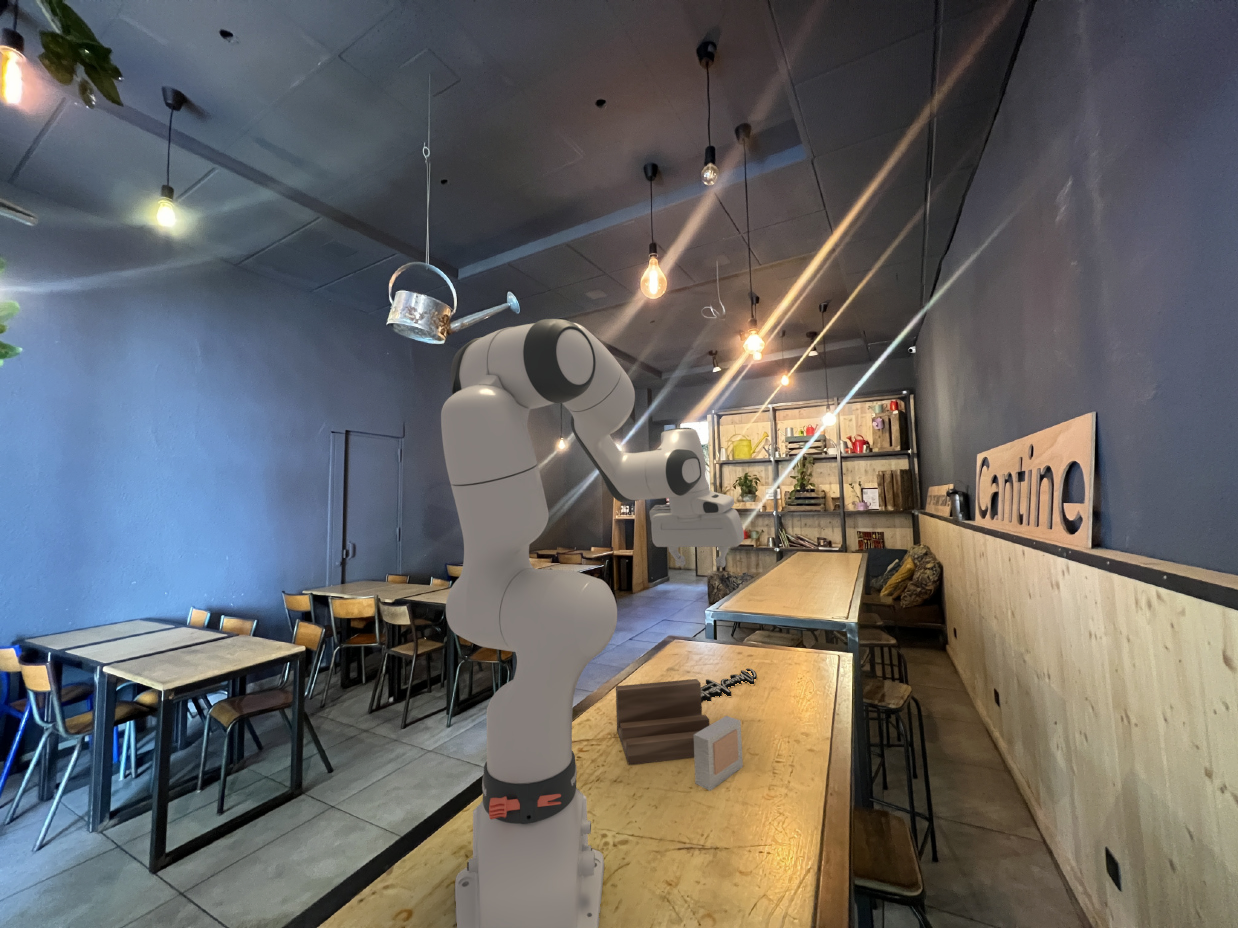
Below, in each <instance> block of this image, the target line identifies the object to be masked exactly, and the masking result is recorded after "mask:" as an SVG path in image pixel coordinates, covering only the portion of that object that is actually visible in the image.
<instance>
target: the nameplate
mask: <svg viewBox="0 0 1238 928" xmlns="http://www.w3.org/2000/svg"><path fill="white" fill-rule="evenodd" d="M746 670H747V671H751V673H752V675H753V676H751V675H750V674H749V673H748V672H746ZM741 673H742V674H741ZM730 678H731V679H730ZM756 678H757V679H758V675H757V672H756V671H755V670H754V669H752V668H746V669H745V670H744V669H743V670H740V673H739V674H737V673H736V674H730V676H729V678H722V679H721V680H720V683H719V682H717V681H714V680H713V679H709V678H708V679H707V678H706V679H705V685H703V686H701V704H702V703H704V702H708V701H711V702H712V697H714V698H716V697H715V696H719V697H718V698H721V697H720V696H722V697H723V695H724V694H726V695H727V696H732V691H731V690H730V688H729V689H728V687H731V686H735V684H737V683H739V684H741V685H742V683H741V681H743V682H745V681H747V682H749V683H750V684H754V683H755V682H754V679H756ZM706 684H707V685H706ZM735 687H736V686H735ZM722 692H723V693H724V694H723V693H722ZM726 695H725V696H726ZM727 696H726V697H727ZM732 697H733V696H732ZM706 700H707V701H706Z"/></svg>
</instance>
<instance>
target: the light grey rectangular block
mask: <svg viewBox="0 0 1238 928" xmlns="http://www.w3.org/2000/svg"><path fill="white" fill-rule="evenodd" d="M741 725H742V723H741V720H740V719H737V718H734V717H731V716H728V715H725V716H724V717H722V718H720V719H719V720H717V721H715V722H713V723H711V724H710V725H709V726H708V727H706V728H704V729H703V730H701V731H699V732H697V733H696V734H694V735H693V736H694V757H693V759H694V776H695V777H694V780H695V781H694V782H695V785H697V786H700V787H702V788H703V789H705V790H708V791H710V792H711V791H712V790H714V789H715V788H717V786H719V785H720V784H722V783H724V781H726V780H727V779H728V778H730V777H731V776H732V775H734V774H735V773H736V772H738V771H739V770H741V769H742V768H743V763H744V761H743V750H742V749H743V746H742V745H743V744H742V743H743V741H742V726H741Z"/></svg>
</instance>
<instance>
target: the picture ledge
mask: <svg viewBox="0 0 1238 928" xmlns="http://www.w3.org/2000/svg"><path fill="white" fill-rule="evenodd" d="M701 687H702V685H701V682H700V681H699V679H698V678H693V679H683V680H682V679H680V680H668V681H660V682H657V681H656V682H647V683H637V684H636V683H635V684H625V685H616V686H615V702H616V703H615V704H616V705H615V706H616V710H615V711H616V732H617V734H618V737H619V740H620V743H621V746H622V749H623V752H624V755H625V758H626V761H627V764H628V766H629V765H630V766H631V765H637V764H639V765H640V764H649V763H650V764H651V763H656V762H657V763H658V762H664V761H665V762H667V761H674V760H682V759H694V736H693V735H694V734H696V733H697V732H699V731H701V730H703V729H704V728H706V727H708V726H709V725H711V724H710V718H709V717H708V716H707V714H703V713H702V712H703V711H702V707H703V706H702V703H701Z"/></svg>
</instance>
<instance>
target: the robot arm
mask: <svg viewBox="0 0 1238 928" xmlns="http://www.w3.org/2000/svg"><path fill="white" fill-rule="evenodd" d="M450 383H451V389H450V391H451V392H450V393H451V396H450V397H447V399H446V400H445V402H444V404H443V406H442V408H441V411H440V424H441V425H440V426H441V437H442V446H443V454H444V460H445V461H444V462H445V466H446V471H447V476H448V479H449V482H450V486H451V492H452V495H453V499H454V502H455V506H456V510H457V511H456V512H457V515H458V519H459V524H460V528H461V532H462V538H463V539H462V540H463V564H462V569H461V572H460V573H461V574H460V575H459V577H458V578H457V579H456V580H455V582H454V583H453V584H452V586H451V588H450V589H449V592H448V595H447V598H446V602H445V617H446V621H447V624H448V626H449V629H450V630H451V631H452V632H453V634H455V635H457V636H459V637H460V638H462V639H465V640H466V641H468V642H471V643H472V644H475V645H477V646H478V647H482V648H488V649H495V650H501V651H508V652H513V653H514V652H515V653H514V654H515V655H516V668H515V673H514V677H513V679H511V680H510V681H508V682H507V683H504V685H502V686H501V687H499V688H498V690H497V691H496V692H495V693H494V694H493V695H492V697H491V699H490V701H488V702H489V703H488V706H487V709H486V761H485V763H484V765H483V774H482V781H481V782H482V784H481V787H482V788H481V790H482V801H481V802H480V803H479V804H478V805H476V807H475V808H474V810H473V811H472V858H468V861H467V862H466V864H467V865H466V867H465V868H463V869H462V870H461V871H459V872H458V874H457V875H456V876H455V883H454V898H455V899H454V902H455V901H456V908H455V923H456V922H457V928H598V927H599V928H600V926H599V925H600V918H599V913H600V914H601V907H600V904H601V903H602V895H603V893H602V892H603V884H604V883H603V882H604V871H605V859H604V855H603V853H602V852H600V851H599V850H597V849H595V848H592V845H590V844H589V835H590V834H591V833H592V821H591V820H588V807H587V805H588V801H587V796H586V795H584V792H583V793H582V792H581V791H580V790H579V789H578V788H577V772H578V771H577V763H576V755H575V754H576V753H574V750H573V706H574V696H575V692H576V687H577V685H578V682H579V679H580V677H581V676H582V673H583V672H584V670H585V668H586V666H588V664H589V663H590V662H591V661H592V660H593V659H594V658H596V657H597V656H598V655H600V654H601V653H602V652H603V651H604V650H605V648H607V646H609V643H610V642H611V641H612V638H613V636H614V634H615V631H616V627H617V623H618V606H617V602H616V598H615V595H614V594H613V592H612V590H611V588H610V586H609V585H608V584H607V583H606V581H604V580H603V579H601V578H597V577H595V576H591V575H589V574H585V573H582V572H578V571H574V570H571V569H570V570H568V569H566V570H563V569H548V568H547V569H545V568H543V569H542V568H534V566H533V565H532V563H531V560H530V545H531V544H532V543H534V541H536V540H537V539H538V538H539V537H540V536H541V535H542V534H543V532H544V531H545V529H546V527H547V524H548V521H549V514H550V513H549V509H548V505H547V500H546V494H545V490H544V486H543V481H542V478H541V476H542V475H541V472H540V469H539V465H538V460H537V457H536V452H535V448H534V445H533V442H532V437H531V435H530V433H529V429H528V421H529V415H530V412H531V410H533V409H540V408H542V407H547V406H550V405H553V404H562V405H563V406H564V407H565V408H566V409H567V410H568V412H569V413H570V414H571V417H570V428H571V430H572V433H573V435H574V437H575V439H576V441H577V442H578V444H579V446H580V447H581V448H582V450H583V451H584V452H585V454H586V456H587V458H589V460H590V461H591V463H592V464H593V466H594V467H595V469H596V470H597V471H598V473H599V474H600V476H601V477H602V480H603V482H604V484H605V487H606V489H607V491H608V492H609V493H610V495H611V496H612V497H613V498H614V499H615V500H616V501H618V502H620V503H630V502H637V501H640V500H641V501H644V500H645V501H646V500H657V499H658V500H659V499H668V504H655V505H654V506H653V507H652V508H651V509H650V510H649V519H650V522H651V524H650V525H651V526H650V527H651V540H652V543H653V545H654V546H655V547H658V548H660V547H661V548H662V547H663V548H668V552H669V553H670V555H671V556H672V557H673V559H675V560H674V561H675V566H676V567H684V566H685V565H686V558H685V556H684V555H681V554H680V552H679V548H718V552H721V553H720V554H719V555H720V556H717V558H715V563H716V564H715V565H716V567H717V568H724V567H725V566H726V564H727V561H726V556H727V555H728V554H727V553H728V552H729V549H730V548H737V547H739V546H740V545H741V544H742V543H743V542H744V540H745V534H744V533H745V532H744V529H743V528H744V527H743V525H742V520H741V517H740V515H739V512H738V511H737V510H736V509H735V508H734V507H733V506H734V505H735V498H734V497H733V496H731V495H729V494H728V495H727V494H723V493H720V492H716V491H712V490H710V484H709V482H708V480H707V477H706V469H707V466H706V460H705V455H704V450H703V447H702V443H701V439H700V437H699V433H698V432H697V430H696V429H695V428H694V429H693V427H692V428H691V427H676V428H675V427H673V428H671V429H666V430H664V431H662V432H661V434H660V445H659V447H657V448H656V449H655V450H648V451H642V452H640V451H639V452H624V451H622V450H620V449H619V448H618V445H617V444H616V443H615V441H614V440H613V438H612V436H611V434H614V433H615V432H616V431H618V430H619V429H620V428H622V426H623V425H624V424H625V423H626V421H627V420H628V418H630V416H631V414H632V412H633V409H634V405H635V400H636V394H635V393H636V391H635V388H634V385H633V382H632V381H631V378H630V377H629V375H628V374H627V373H626V371H625V369H624V368H623V367H622V366H621V365H620V363H619V362H618V360H617V359H616V358H615V356H614V355H613V353H611V352H610V351H609V350H608V348H607V347H606V346H605V345H604V344H603V343H602V342H601V341H600V340H599V339H598V338H597V337H596V336H595V335H593V333H591V332H590V331H589V330H588V329H587V328H586V327H584V326H583V325H581V324H579V323H576V322H572V321H570V320H566V319H560V318H545V319H541V320H538V321H536V322H535V323H533V322H532V323H529V324H528V323H526V324H522V325H517V326H516V325H515V326H507V327H505V328H501V329H498V330H496V331H494V332H493V331H492V332H491V333H488V334H486V335H485V336H483V337H477V338H473V339H472V340H470V341H469V342H467V343H466V344H464V345H463V346H462V347H461V348H459V349H458V351H457V352H456V353H455V354H454V357H453V359H452V362H451V367H450ZM601 905H602V904H601Z"/></svg>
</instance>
